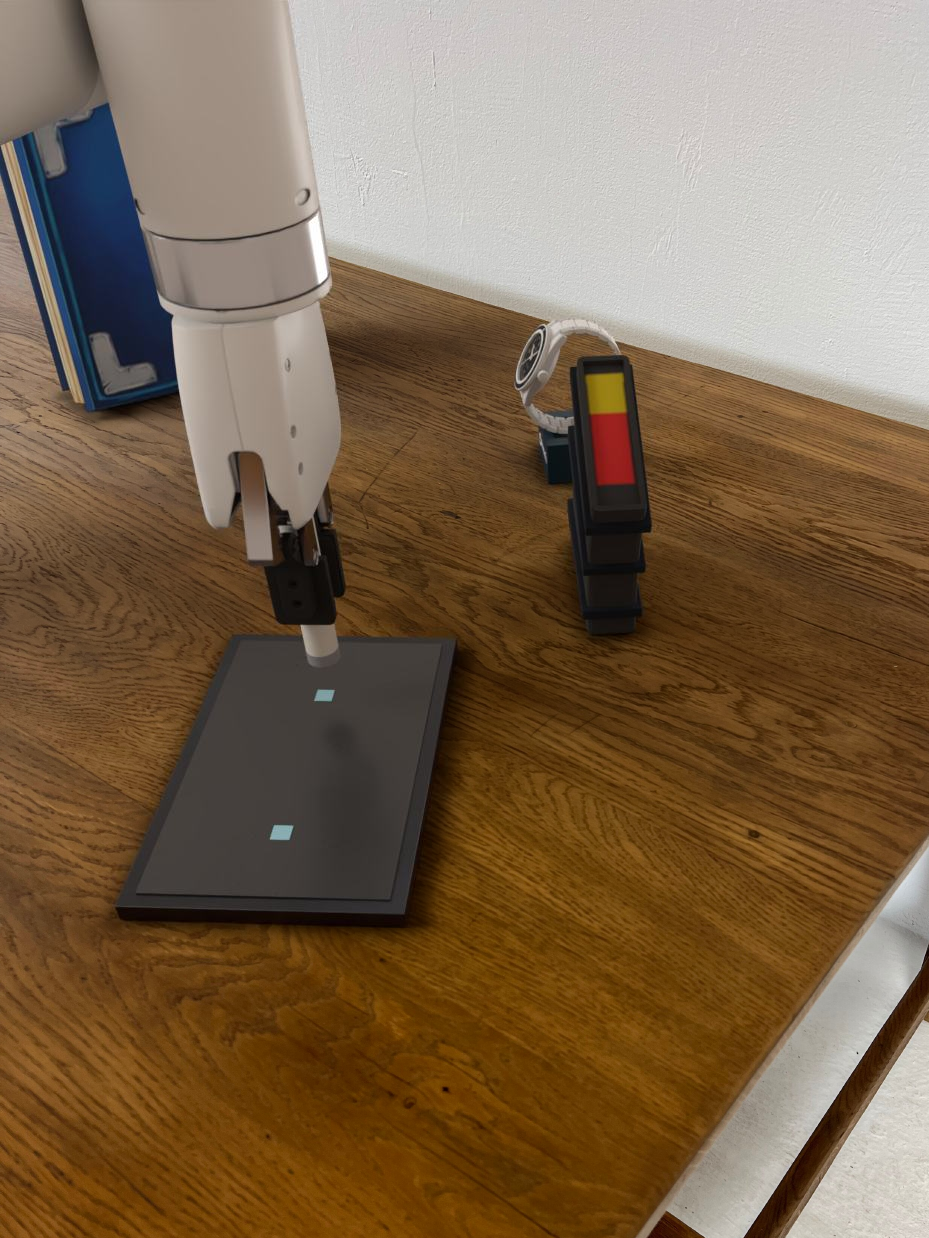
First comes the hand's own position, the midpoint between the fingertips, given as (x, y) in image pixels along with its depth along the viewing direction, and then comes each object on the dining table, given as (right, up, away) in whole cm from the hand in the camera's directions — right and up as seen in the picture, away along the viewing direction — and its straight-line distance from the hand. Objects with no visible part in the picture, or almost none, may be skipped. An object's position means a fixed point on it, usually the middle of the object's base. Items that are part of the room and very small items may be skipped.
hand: (312, 606), depth 62 cm
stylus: (0, -3, +2) cm, 4 cm away
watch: (+14, +14, +27) cm, 34 cm away
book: (-19, +26, +40) cm, 51 cm away
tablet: (0, -9, +1) cm, 9 cm away
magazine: (+16, +2, +13) cm, 21 cm away
